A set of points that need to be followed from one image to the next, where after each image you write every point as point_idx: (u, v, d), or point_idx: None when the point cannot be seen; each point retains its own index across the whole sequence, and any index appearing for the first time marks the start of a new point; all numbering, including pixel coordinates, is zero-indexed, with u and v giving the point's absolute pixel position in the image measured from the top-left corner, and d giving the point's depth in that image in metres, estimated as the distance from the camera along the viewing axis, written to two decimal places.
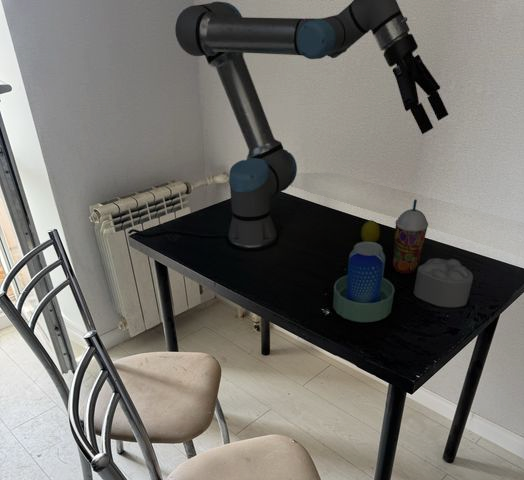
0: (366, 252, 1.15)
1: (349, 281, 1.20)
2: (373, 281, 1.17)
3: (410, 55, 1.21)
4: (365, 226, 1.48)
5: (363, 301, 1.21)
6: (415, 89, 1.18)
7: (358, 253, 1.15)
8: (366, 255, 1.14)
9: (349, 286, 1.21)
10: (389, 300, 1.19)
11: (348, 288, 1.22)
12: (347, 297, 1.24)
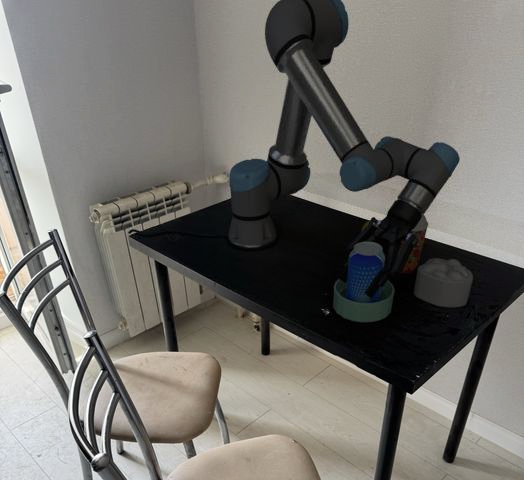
0: (366, 252, 1.15)
1: (349, 281, 1.20)
2: None
3: None
4: (365, 226, 1.48)
5: (363, 301, 1.21)
6: None
7: (358, 253, 1.15)
8: (366, 255, 1.14)
9: (349, 286, 1.21)
10: (389, 300, 1.19)
11: (348, 288, 1.22)
12: (347, 297, 1.24)
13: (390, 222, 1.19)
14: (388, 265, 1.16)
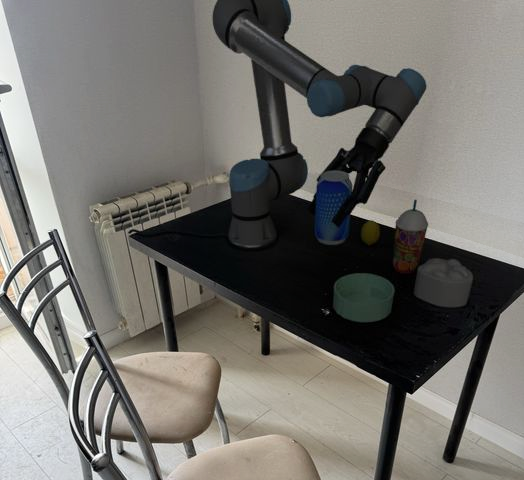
0: (332, 179, 1.15)
1: (317, 211, 1.20)
2: None
3: None
4: (365, 226, 1.48)
5: (331, 231, 1.21)
6: None
7: (324, 180, 1.15)
8: (332, 181, 1.14)
9: (317, 217, 1.21)
10: (389, 300, 1.19)
11: (316, 219, 1.22)
12: (316, 229, 1.24)
13: (358, 151, 1.19)
14: (354, 192, 1.16)
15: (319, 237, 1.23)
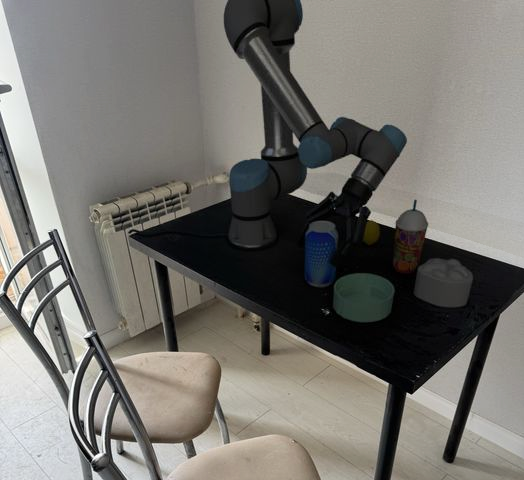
0: (320, 230, 1.26)
1: (306, 257, 1.31)
2: (327, 257, 1.28)
3: None
4: None
5: (319, 275, 1.32)
6: None
7: (312, 230, 1.26)
8: (319, 232, 1.25)
9: (306, 262, 1.32)
10: (389, 300, 1.19)
11: (306, 264, 1.33)
12: (305, 272, 1.35)
13: (344, 199, 1.29)
14: (349, 235, 1.25)
15: (308, 280, 1.34)
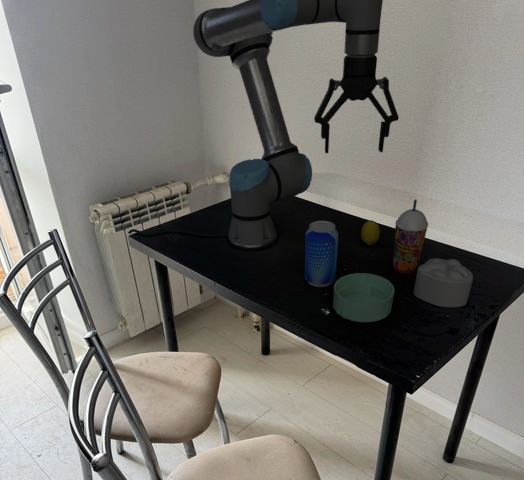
0: (320, 230, 1.26)
1: (306, 257, 1.31)
2: (327, 257, 1.28)
3: None
4: (365, 226, 1.48)
5: (319, 275, 1.32)
6: None
7: (312, 230, 1.26)
8: (319, 232, 1.25)
9: (306, 262, 1.32)
10: (389, 300, 1.19)
11: (306, 264, 1.33)
12: (305, 272, 1.35)
13: (353, 82, 1.17)
14: (386, 117, 1.21)
15: (308, 280, 1.34)
